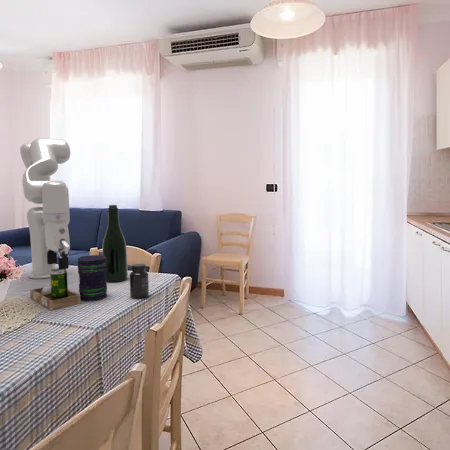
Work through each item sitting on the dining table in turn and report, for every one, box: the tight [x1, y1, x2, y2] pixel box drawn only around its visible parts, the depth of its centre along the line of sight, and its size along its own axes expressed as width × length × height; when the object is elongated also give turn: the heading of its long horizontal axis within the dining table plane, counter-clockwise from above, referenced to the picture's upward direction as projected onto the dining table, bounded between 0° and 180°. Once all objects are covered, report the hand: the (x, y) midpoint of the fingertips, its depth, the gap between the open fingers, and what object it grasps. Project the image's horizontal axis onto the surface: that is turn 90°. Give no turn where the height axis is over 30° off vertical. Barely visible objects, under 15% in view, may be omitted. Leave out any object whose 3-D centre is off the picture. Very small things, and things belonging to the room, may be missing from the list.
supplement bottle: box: [129, 263, 150, 300], centre depth 135 cm, size 7×7×12 cm
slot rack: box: [29, 286, 81, 311], centre depth 130 cm, size 19×10×3 cm, turn 47°
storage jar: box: [77, 254, 108, 302], centre depth 133 cm, size 10×10×15 cm
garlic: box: [41, 282, 51, 295], centre depth 133 cm, size 6×5×5 cm
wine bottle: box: [101, 204, 129, 283], centre depth 157 cm, size 10×10×33 cm
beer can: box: [50, 267, 69, 300], centre depth 126 cm, size 5×5×12 cm
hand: (57, 266), depth 126 cm, fingers open, 9 cm apart
